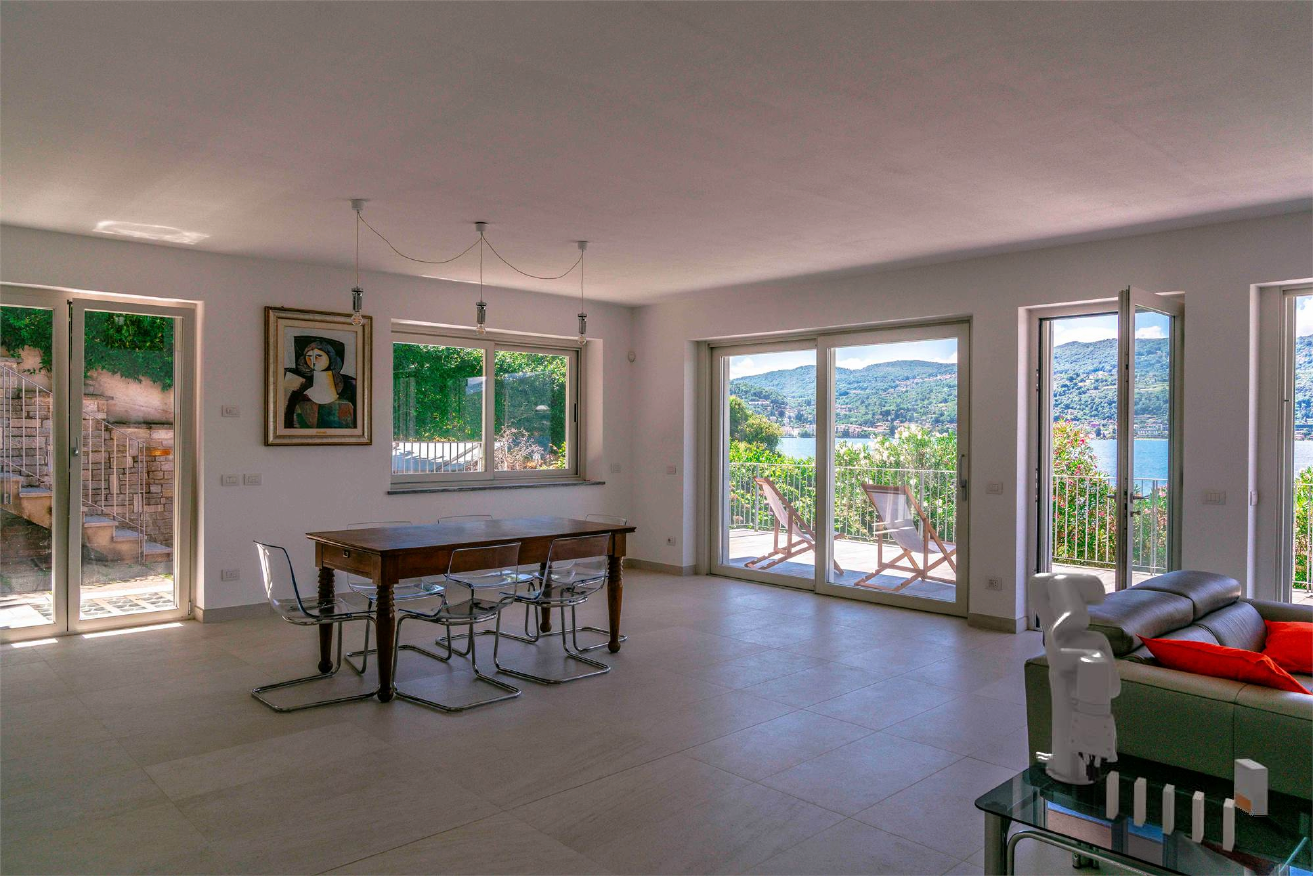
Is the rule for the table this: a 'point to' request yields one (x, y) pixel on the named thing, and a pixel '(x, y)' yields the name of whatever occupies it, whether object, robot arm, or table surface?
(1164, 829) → the domino
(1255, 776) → the skincare box
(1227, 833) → the domino
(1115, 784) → the domino
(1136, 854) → the table surface
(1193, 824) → the domino
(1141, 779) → the domino
